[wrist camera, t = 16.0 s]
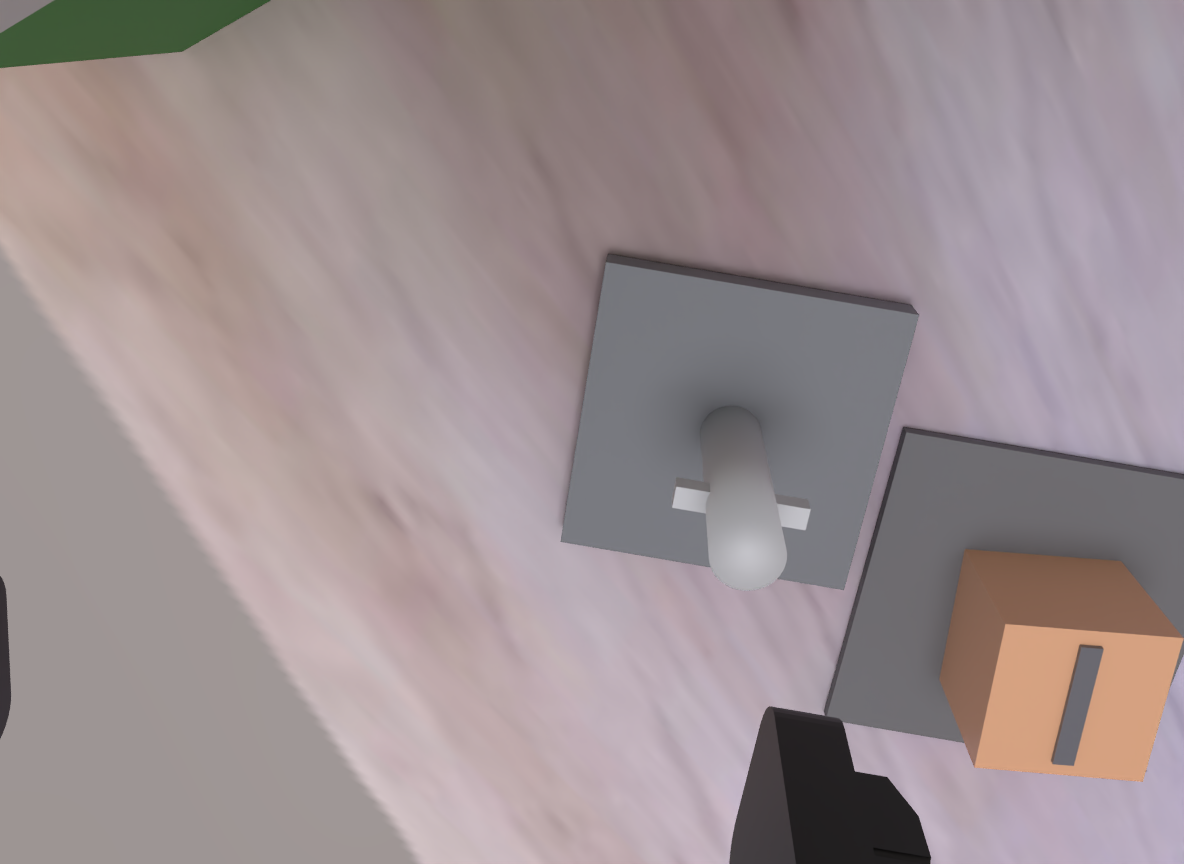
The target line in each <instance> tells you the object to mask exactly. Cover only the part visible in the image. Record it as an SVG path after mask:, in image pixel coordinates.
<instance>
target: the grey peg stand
mask: <svg viewBox="0 0 1184 864" xmlns="http://www.w3.org/2000/svg"><path fill="white" fill-rule="evenodd" d="M918 317H919V314H918V313H917V312H916V310H915V309H914V308H913V307H912V305H908V304H902V303H896V302H890V301H884V300H879V299H873V298H867V297H861V296H855V295H849V294H843V293H837V292H831V291H825V290H819V289H813V288H807V287H801V286H796V285H790V284H784V283H778V282H772V281H766V280H760V279H754V278H748V277H742V276H736V275H730V274H724V273H719V272H713V271H707V270H701V269H695V268H689V267H683V266H677V265H671V264H665V263H659V262H653V261H647V260H641V259H636V258H630V257H624V256H618V255H612V254H608V256H607V260H606V265H605V271H604V277H603V283H602V290H601V296H600V302H599V308H598V314H597V320H596V326H595V333H594V339H593V345H592V351H591V357H590V363H589V370H588V376H587V382H586V388H585V394H584V400H583V407H582V413H581V419H580V425H579V431H578V437H577V444H576V450H575V456H574V462H573V468H572V474H571V481H570V487H569V493H568V499H567V505H566V511H565V518H564V524H563V530H562V536H561V542H565V543H571V544H577V545H583V546H588V547H594V548H600V549H606V550H612V551H618V552H624V553H629V554H635V555H641V556H647V557H653V558H659V559H665V560H671V561H676V562H682V563H688V564H694V565H700V566H706V567H711V569H712V571H713V573H714V574H715V576H716V577H717V578H718V579H719V580H720V581H721V582H722V583H724V584H725V585H727V586H729V587H731V588H734V589H737V590H743V591H751V590H757V589H761V588H764V587H766V586H768V585H770V584H771V583H773V582H774V581H775V580H776V579H782V580H788V581H794V582H800V583H805V584H811V585H817V586H823V587H829V588H835V589H841V590H844V588H845V584H846V580H847V577H848V573H849V569H850V566H851V562H852V558H853V555H854V551H855V548H856V544H857V540H858V537H859V533H860V529H861V526H862V522H863V518H864V515H865V511H866V507H867V504H868V500H869V496H870V493H871V489H872V485H873V482H874V478H875V474H876V471H877V467H878V463H879V460H880V456H881V453H882V449H883V445H884V442H885V438H886V434H887V431H888V427H889V423H890V420H891V416H892V412H893V409H894V405H895V401H896V398H897V394H898V390H899V387H900V383H901V379H902V376H903V372H904V368H905V365H906V361H907V358H908V354H909V350H910V347H911V343H912V339H913V336H914V332H915V328H916V325H917V321H918Z"/></svg>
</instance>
